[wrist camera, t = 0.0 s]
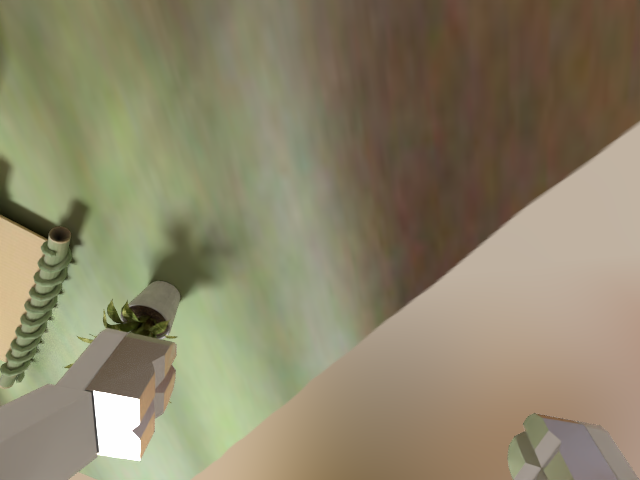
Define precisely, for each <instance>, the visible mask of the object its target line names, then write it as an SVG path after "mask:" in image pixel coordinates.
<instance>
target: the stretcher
mask: <svg viewBox="0 0 640 480" xmlns="http://www.w3.org/2000/svg"><path fill="white" fill-rule="evenodd" d="M70 239H71V232H70V230H69V229H67V228H65V227H60V226H58V227H54V228H53V229H51V230H50V232H49V237H48V239H46V238H44V237H42V236H41V235H39V234H37V233H35V232H33V231H31V230H29V229H27V228H25V227H23V226H21V225H19V224H17V223H15V222H13V221H12V220H10V219H8V218H6V217H4V216H2V215H0V360H2V361H4V362H6V363H4V364H2V366H1V368H0V371H1V373H2V376H1V378H0V387H1V388H4V389H5V388H10V387H12V385H13V383H14V381H15V380H16V383H19V382H21V381H22V379H23V378H24V371H25V370H26V369H27V368H28V366H29V364H30V359H31V358H33V357H34V355H35V353H36V352H37V345H38V344H39V342H40V341H41V335H42V334H43V333H44V331H45V330H46V328H47V320H48V319H49V318H50V316H51V315H52V310H51V309H52V308H53V307H54V306H55V304H56V303H57V295H58V294H59V293H60V291H61V289H62V282H63V281H64V280H65V278H66V276H67V275H68V273H67V266H68V264H69V263H70V262H71V260H72V252H71V250H70V248H69V244H70ZM29 351H30V352H29ZM17 376H18V377H17Z"/></svg>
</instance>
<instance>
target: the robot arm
mask: <svg viewBox="0 0 640 480" xmlns="http://www.w3.org/2000/svg"><path fill="white" fill-rule="evenodd" d="M176 348H177V344H175V343H174V342H170V341H165V340H161V339H157V338H152V337H148V336H143V335H139V334H134V333H128V332H123V331H119V330H114V329H110V328H107V329H105V330H103V331H101V332H100V333H99V334H98V335H97V337H96V338H95V339H94V340H93V341H92V342H91V344H90V345H89V346H88V347H87V348H86V350H85V351H84V352H83V353H82V354H81V355H80V357H79V358H78V359H77V360H76V361H75V363H74V364H73V365H72V366H71V367H70V368H69V370H68V371H67V372H66V373H65V374H64V376H63V377H62V378H61V379H60V380H59V381H58V383H57V384H56V385H52V384H46V385H44V386H42V387H40V388H38V389H36V390H34V391H32V392H30V393H28V394H26V395H24V396H21V397H19V398H17V399H15V400H13V401H11V402H9V403H7V404H5V405H3V406H1V407H0V480H68V479H70V478H71V477H72V476H74V475H75V474H76V473H77V472H79V471H80V470H81V469H82V468H84V467H85V466H86V465H88V464H89V463H90V462H91V461H93V460H94V459H95V458H97V454H100V455H106V456H113V457H119V458H126V459H132V460H138V461H140V460H141V458H142V456H143V454H144V452H145V450H146V448H147V446H148V444H149V442H150V440H151V438H152V436H153V434H154V432H155V418H157V417H159V416H160V415H162V414H163V413H164V411H165V409H166V407H167V405H168V403H169V400H170V397H171V394H172V391H173V388H174V383H175V376H176V370H175V368H174V367H173V366H172V363H173V361H174V359H175V357H176ZM523 425H524V428H525V432H522V433H520V434H518V435H516V436H515V437H514V438H513V440H512V442H511V443H510V445H509V451H508V465H509V470H510V473H511V475H512V478H513V480H639V478H638V477H637V475H636V474H635V472H634V471H633V469H632V468H631V466H630V465H629V463H628V462H627V460H626V459H625V457H624V456H623V454H622V453H621V451H620V450H619V448H618V447H617V445H616V444H615V442H614V441H613V439H612V438H611V436H610V434H609V433H608V432H607V431H606V430H605V429H604V428H603V427H601V426H600V425H595V424H589V423H584V422H579V421H577V422H576V421H573V420H568V419H563V418H557V417H552V416H547V415H541V414H536V413H534V414H532V415H530V416H528V417H527V418H526V420H525V421H524V423H523Z"/></svg>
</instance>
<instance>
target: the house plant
mask: <svg viewBox="0 0 640 480" xmlns="http://www.w3.org/2000/svg"><path fill="white" fill-rule="evenodd" d="M112 300H113V299H112ZM179 302H180V293H179V291H178V290H177V289H176V288H175V287H174V286H173V285H171V284H169V283H167V282H164V281H155V282H152V283H150V284H149V285H148V286H147V287H146V288H145V289H144V290H143V291H142V292H141V293H140V294H139V295H138V296H137V297H136V298H135V299H133V300H132V301H131V302H130V303H129V304H128V300H127V302H126V304H125V305H124V306H123V308H122V311H121V312H122V313H121V320H120V318H119V316H118V313H117V311H116V309H115V307H114V306H113V302H112V301H111V302H110V304H109V305H108V307H107V313H108V315H109V317H110V318H111V319H112V320H113V321H114V322H116V323H121V324H116V325H110V324H108V323H107V322H106V315H105V311H104V317H103V323H104V326H105V327H106V328H110V329H114V330H119V331H123V332H129V333H134V334H139V335H143V336H148V337H152V338H157V339H163V338H165V337H167V338H176V337H175V336H167V335H169V333H170V331H171V327H172V324H173V321H174V318H175V315H176V311H177V308H178V305H179ZM90 335H91V334H90ZM92 336H93V335H92ZM77 337H78V336H77ZM94 337H95V336H94ZM96 337H97V336H96ZM96 337H95V338H96ZM78 338H79V339H81V340H82V341H84V342H88V343H91V342H92V341H93V340H91V339H86V338H81V337H78ZM173 362H174V361H173ZM73 364H74V363H73ZM73 364H70V365H68V366H66V367H64V368H70V367H71V366H72V365H73ZM169 402H170V401H169ZM170 403H171V402H170Z"/></svg>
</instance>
